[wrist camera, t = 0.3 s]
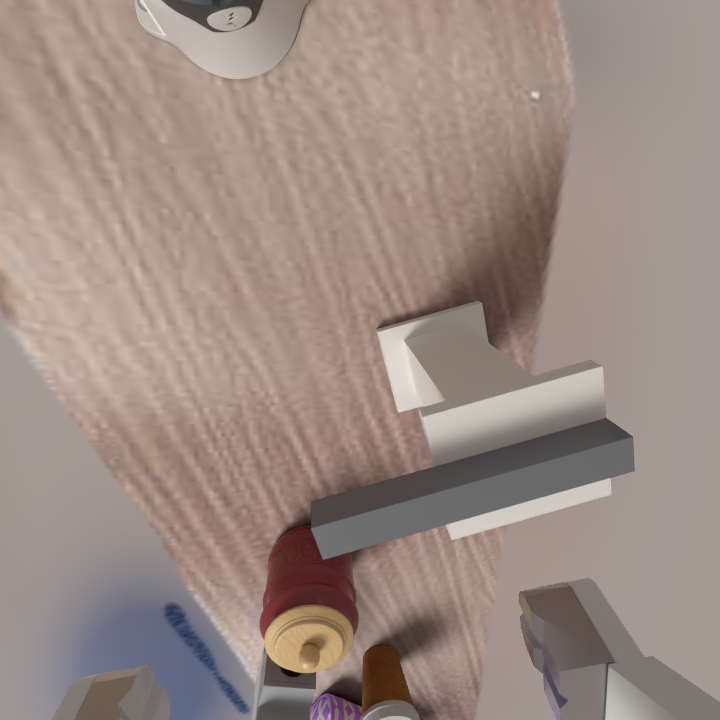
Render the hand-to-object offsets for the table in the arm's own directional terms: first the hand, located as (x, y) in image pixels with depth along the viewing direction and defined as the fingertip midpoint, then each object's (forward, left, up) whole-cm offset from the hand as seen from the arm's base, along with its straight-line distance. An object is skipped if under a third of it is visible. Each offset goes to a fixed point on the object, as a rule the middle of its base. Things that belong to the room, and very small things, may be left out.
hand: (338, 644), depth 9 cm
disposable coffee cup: (+66, -8, -47) cm, 82 cm away
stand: (+13, +13, -47) cm, 51 cm away
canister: (+40, -13, -48) cm, 64 cm away
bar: (+13, +8, -21) cm, 26 cm away
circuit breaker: (+56, -22, -48) cm, 77 cm away
